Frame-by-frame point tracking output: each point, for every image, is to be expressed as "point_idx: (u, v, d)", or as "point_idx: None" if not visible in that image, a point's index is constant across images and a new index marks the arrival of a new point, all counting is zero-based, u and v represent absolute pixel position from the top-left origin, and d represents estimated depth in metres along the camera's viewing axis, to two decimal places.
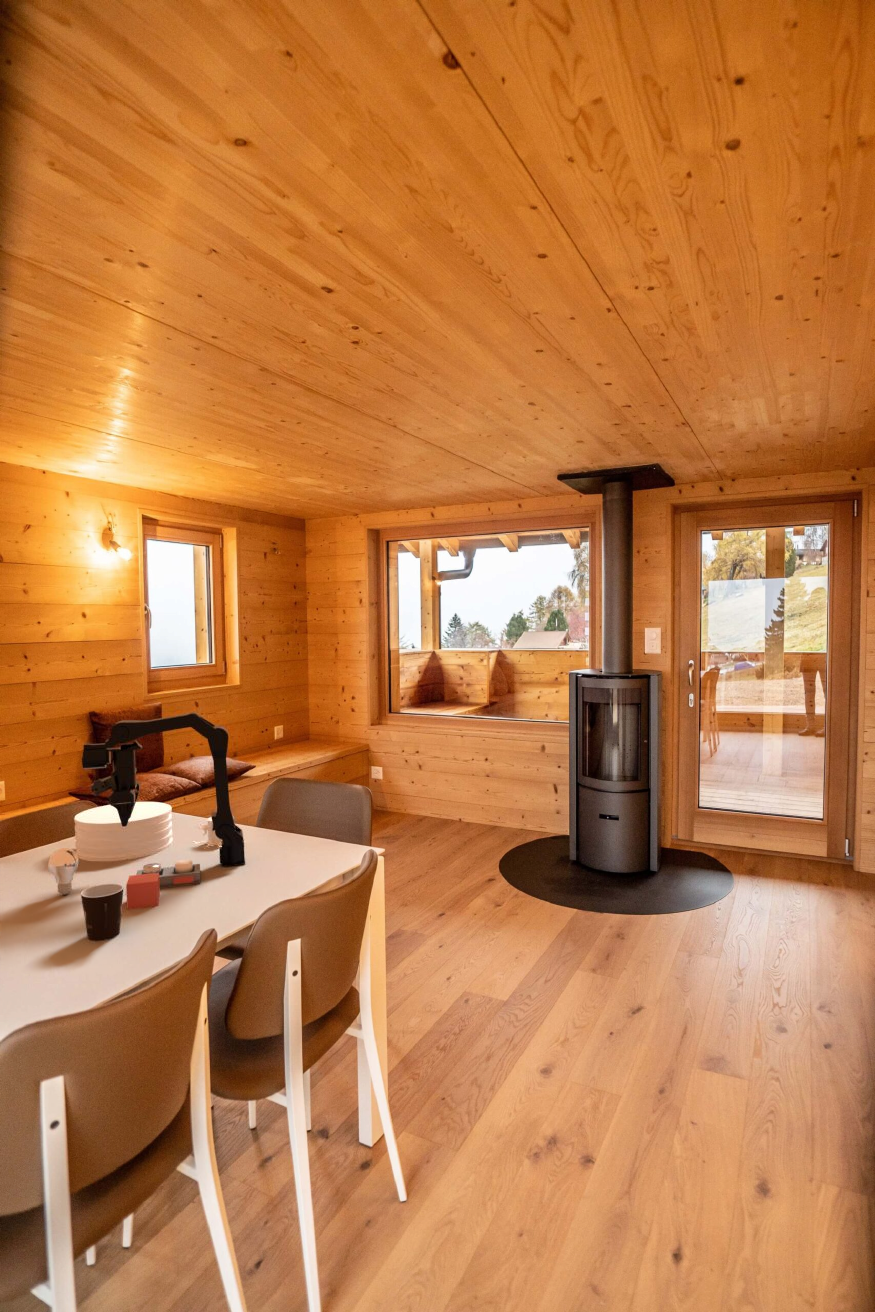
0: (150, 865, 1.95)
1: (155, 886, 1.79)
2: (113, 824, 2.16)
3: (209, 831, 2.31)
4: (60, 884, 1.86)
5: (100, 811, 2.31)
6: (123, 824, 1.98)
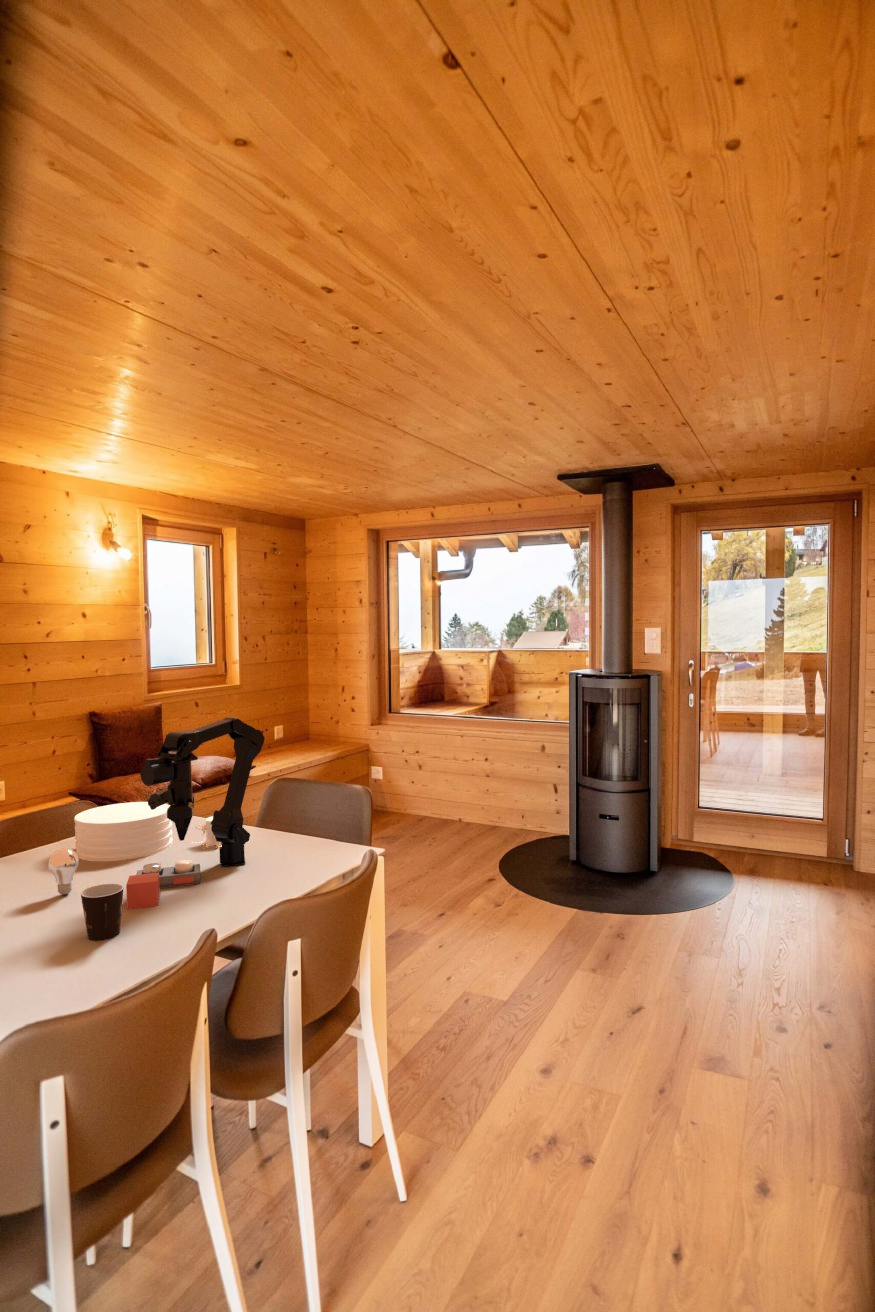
0: (150, 865, 1.95)
1: (155, 886, 1.79)
2: (113, 824, 2.16)
3: (207, 831, 2.31)
4: (60, 884, 1.86)
5: (100, 811, 2.31)
6: (180, 838, 1.93)
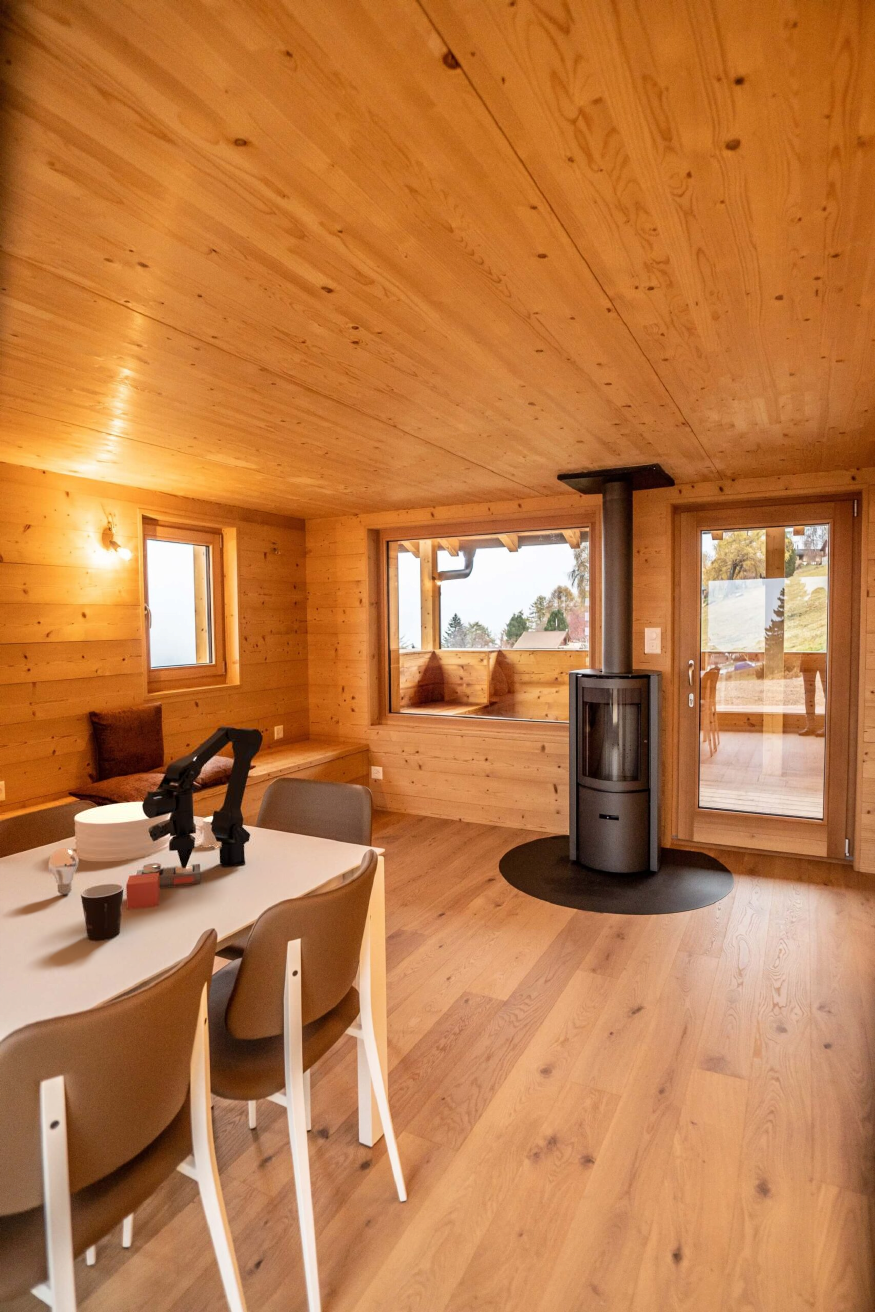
0: (150, 865, 1.95)
1: (155, 886, 1.79)
2: (113, 824, 2.16)
3: (205, 831, 2.31)
4: (60, 884, 1.86)
5: (100, 811, 2.31)
6: (182, 866, 1.96)
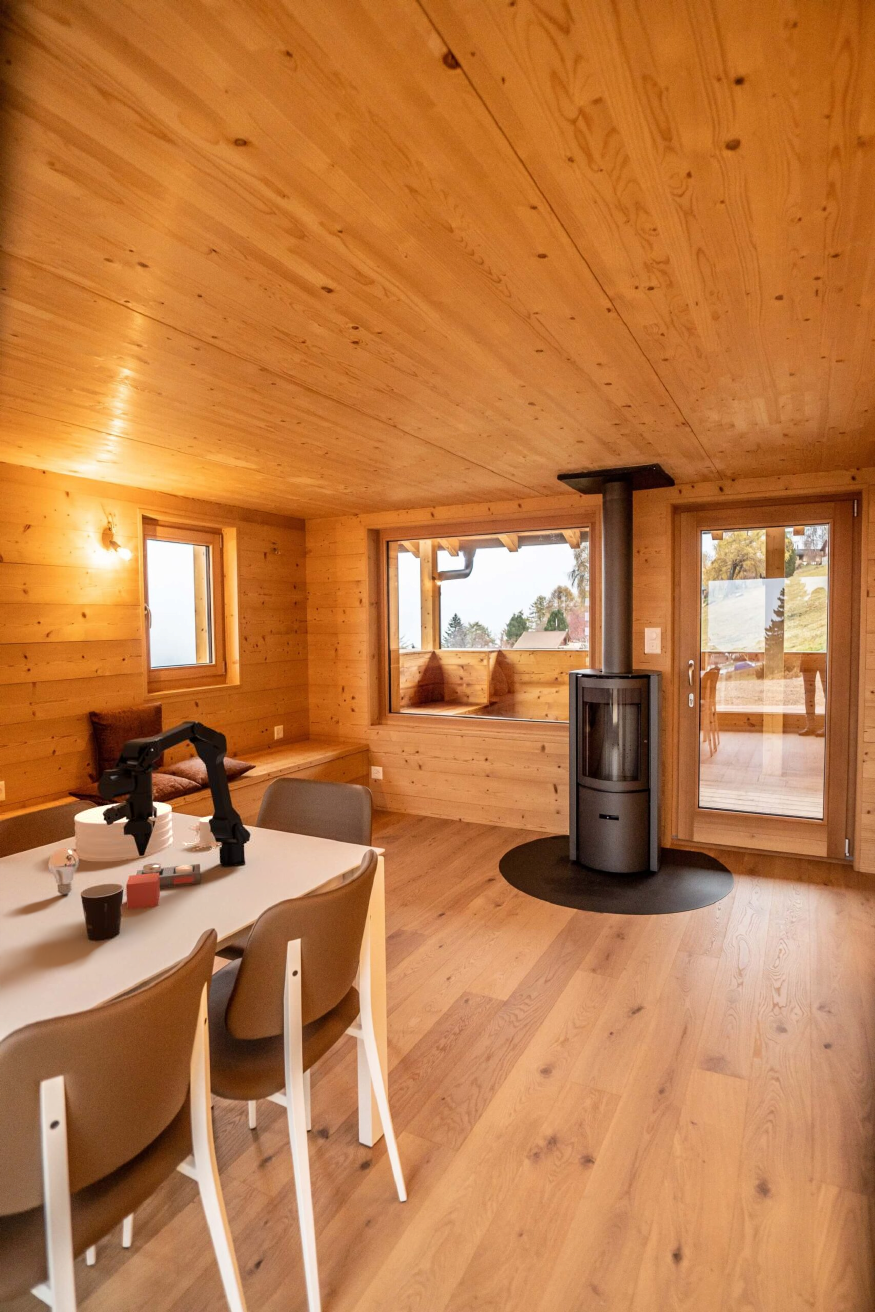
0: (150, 865, 1.95)
1: (155, 886, 1.79)
2: (113, 824, 2.16)
3: (201, 832, 2.30)
4: (60, 884, 1.86)
5: (100, 811, 2.31)
6: (140, 853, 1.79)
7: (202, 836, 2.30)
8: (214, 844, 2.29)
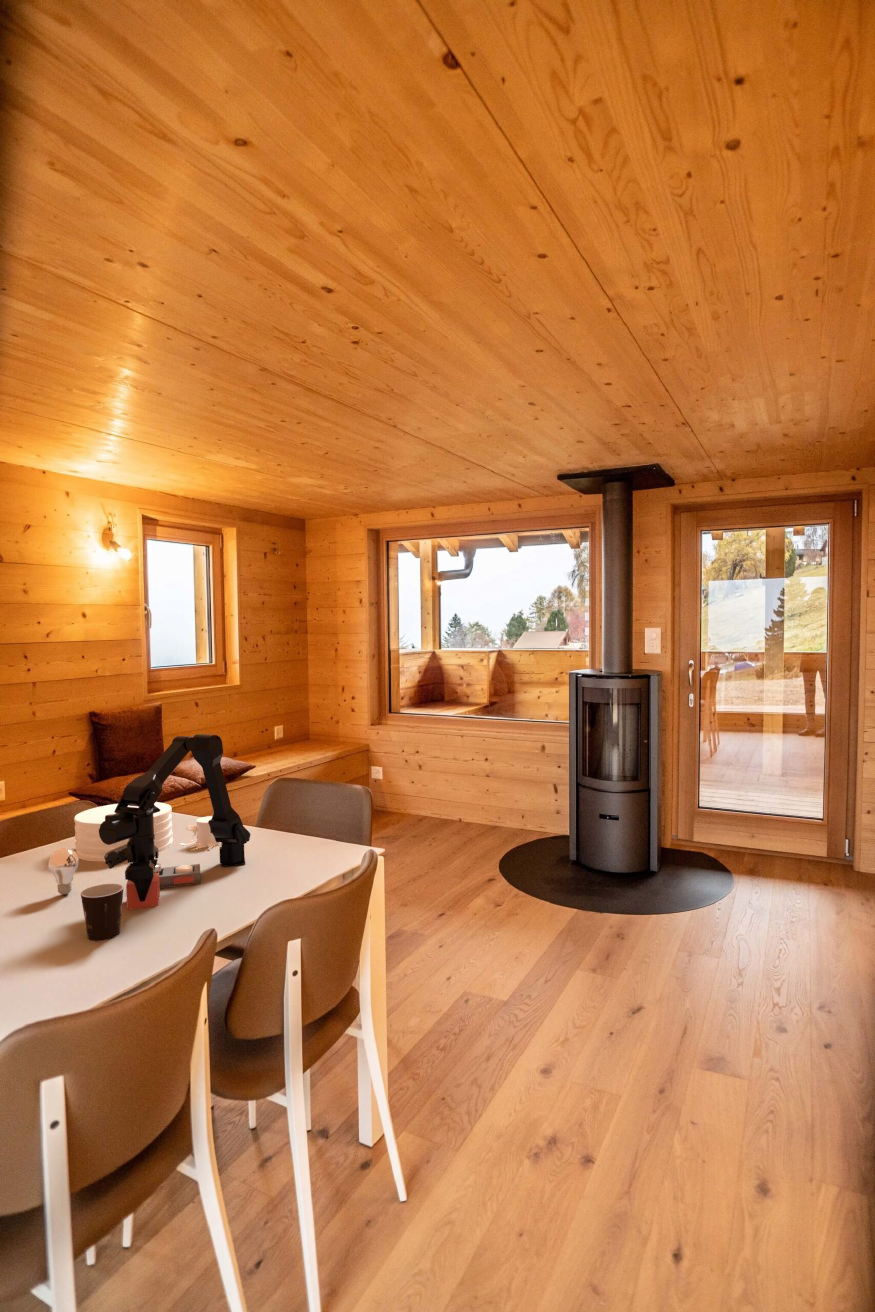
0: None
1: (155, 886, 1.79)
2: None
3: (198, 832, 2.30)
4: (60, 884, 1.86)
5: (100, 811, 2.31)
6: (141, 899, 1.77)
7: (199, 836, 2.30)
8: (211, 844, 2.29)
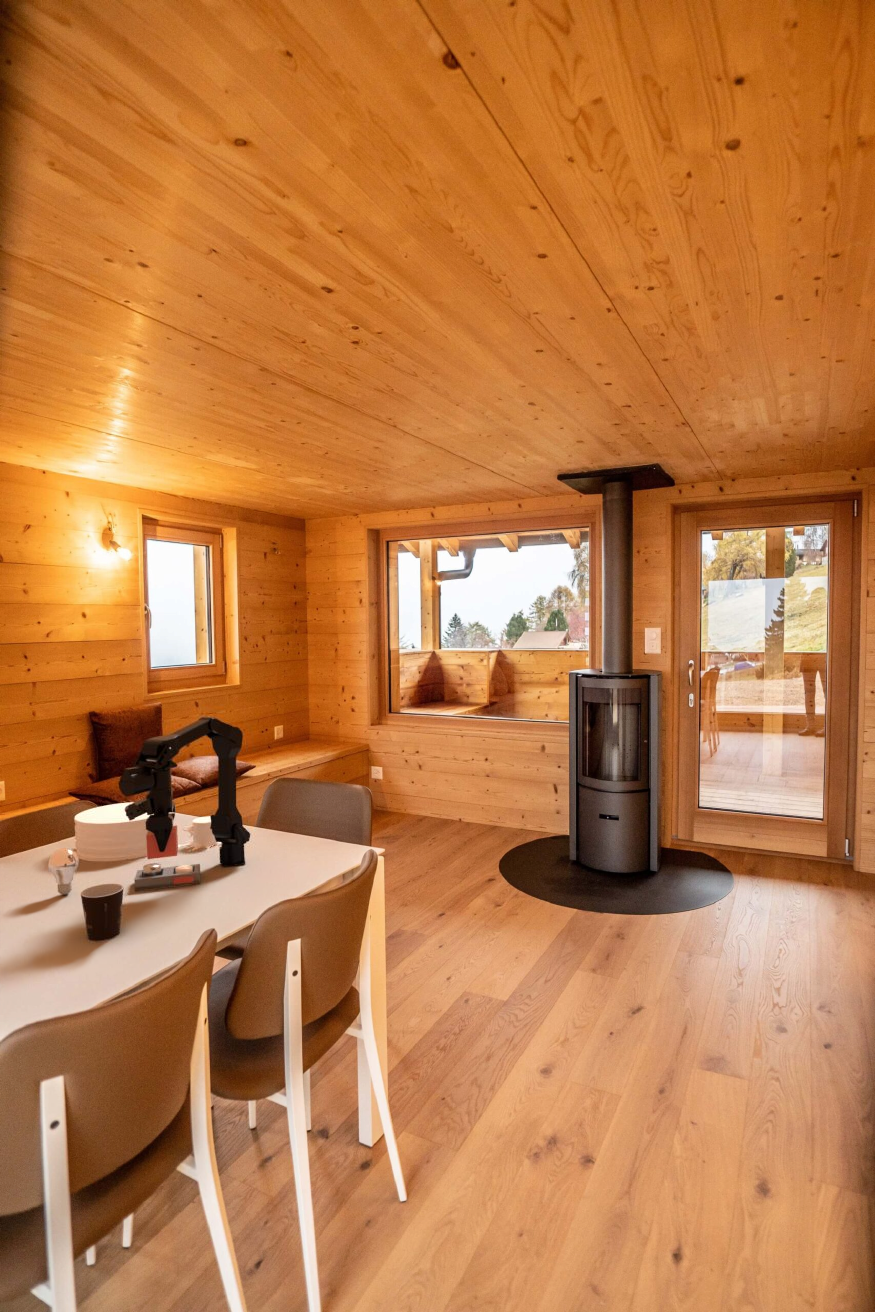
0: (150, 865, 1.95)
1: (174, 837, 1.86)
2: (113, 824, 2.16)
3: (195, 833, 2.29)
4: (60, 884, 1.86)
5: (100, 811, 2.31)
6: (160, 850, 1.85)
7: (196, 837, 2.29)
8: (209, 845, 2.28)
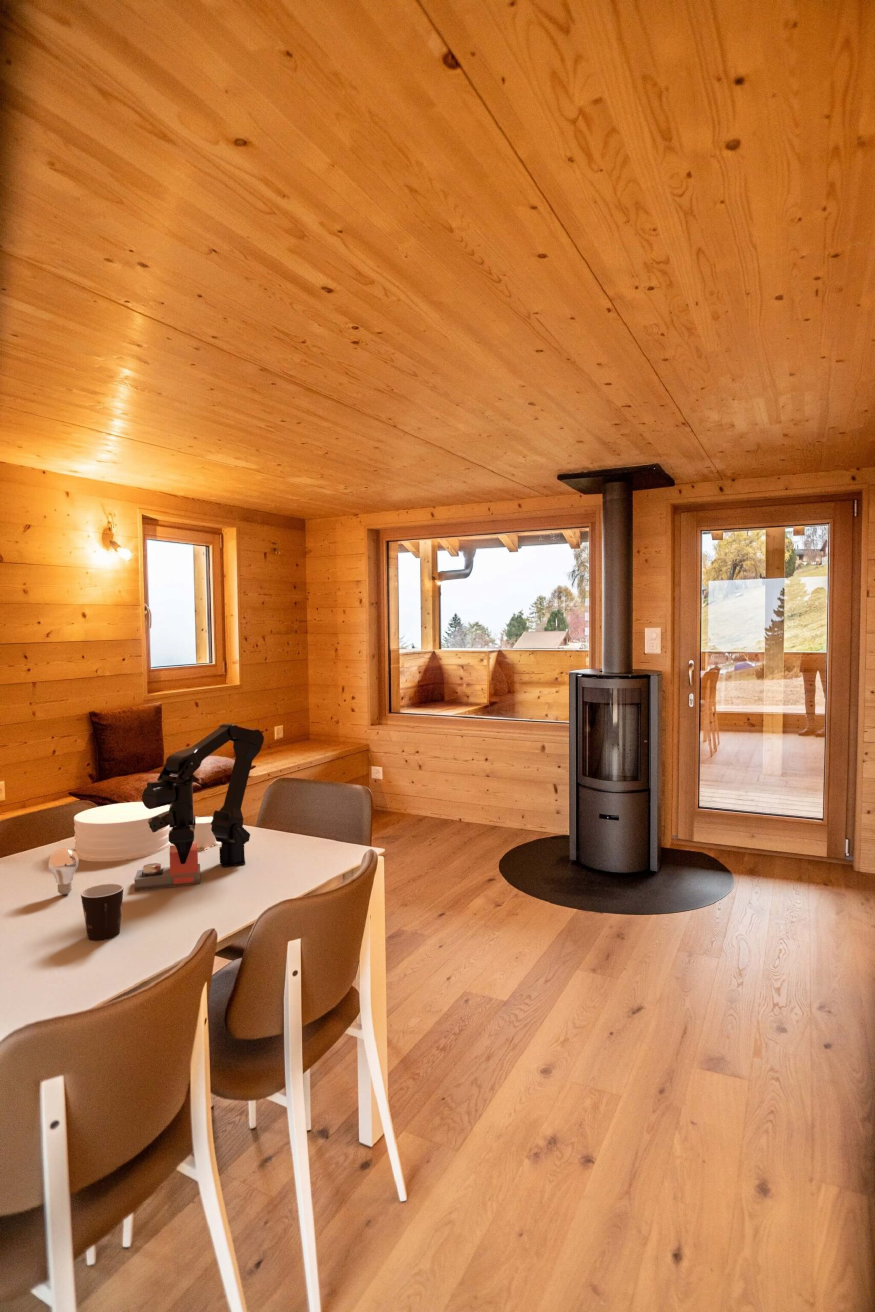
0: (150, 865, 1.95)
1: (195, 854, 1.94)
2: (113, 824, 2.16)
3: (194, 833, 2.29)
4: (60, 884, 1.86)
5: (99, 811, 2.31)
6: (181, 862, 1.92)
7: (195, 837, 2.29)
8: (208, 845, 2.28)
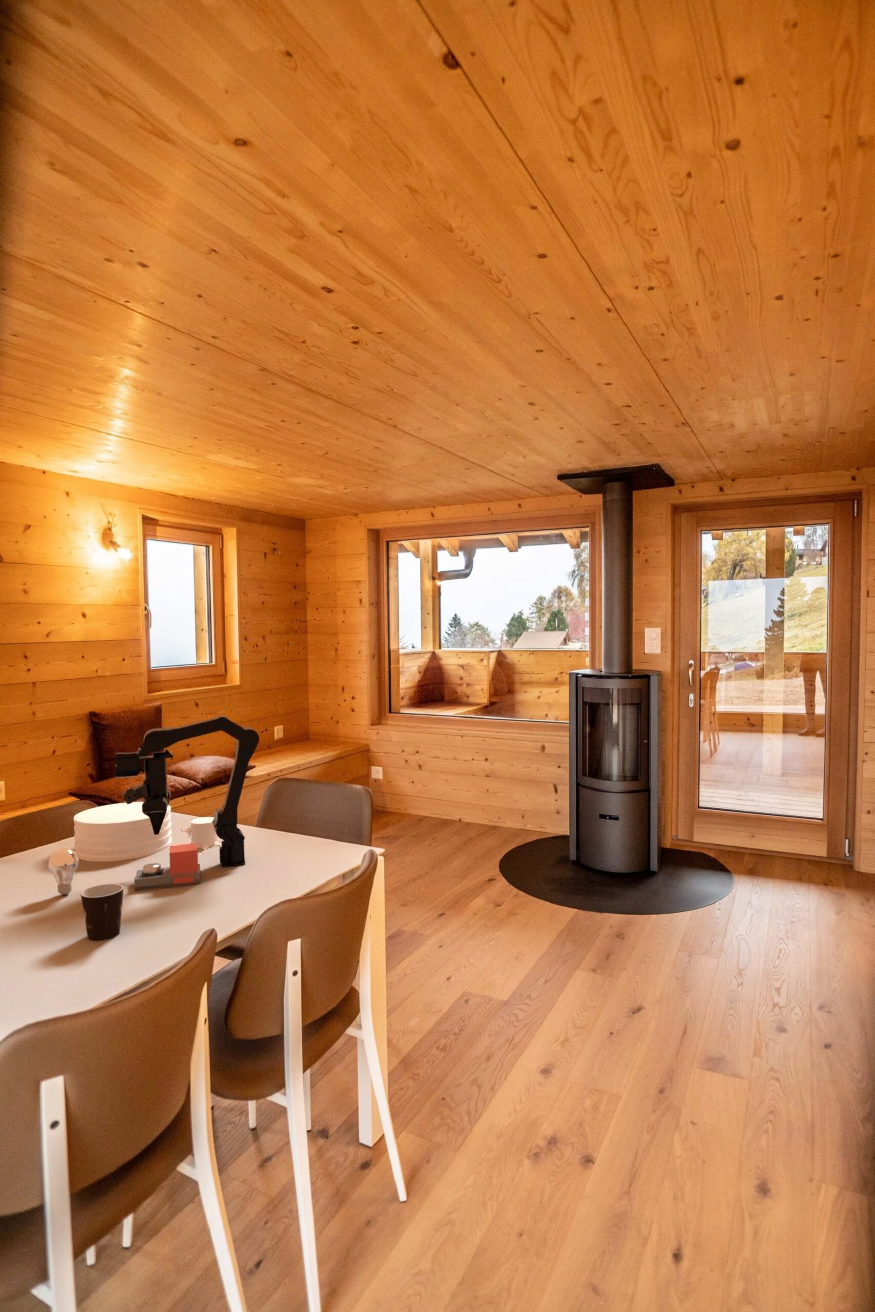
0: (150, 865, 1.95)
1: (195, 854, 1.94)
2: (112, 824, 2.16)
3: (193, 834, 2.28)
4: (60, 884, 1.86)
5: (99, 811, 2.31)
6: (155, 832, 1.99)
7: (194, 838, 2.28)
8: (206, 846, 2.27)
